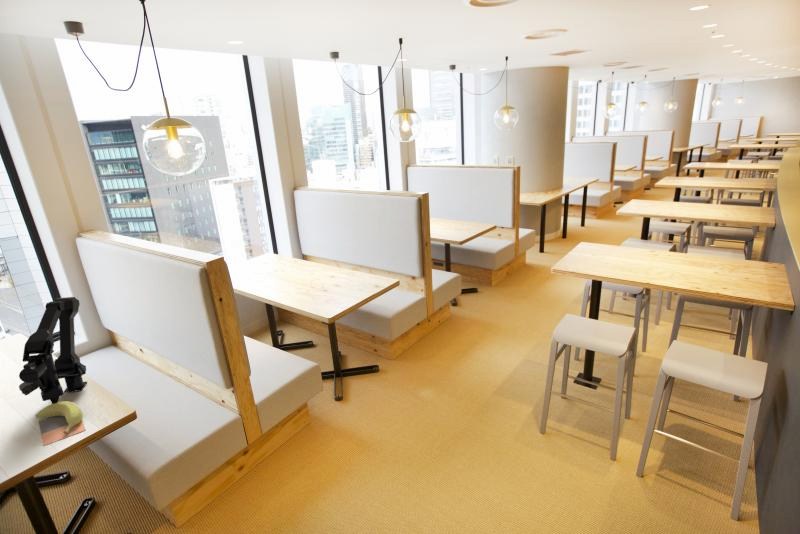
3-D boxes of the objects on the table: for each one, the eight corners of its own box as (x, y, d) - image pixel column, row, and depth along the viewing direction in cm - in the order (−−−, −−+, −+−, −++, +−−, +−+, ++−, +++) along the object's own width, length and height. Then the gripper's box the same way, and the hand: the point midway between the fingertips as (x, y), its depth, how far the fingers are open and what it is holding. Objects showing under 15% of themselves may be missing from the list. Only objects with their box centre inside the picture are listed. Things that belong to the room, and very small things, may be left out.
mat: (38, 421, 162) (38, 421, 162) (77, 408, 169) (77, 408, 169) (41, 434, 155) (41, 434, 155) (81, 420, 162) (81, 419, 162)
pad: (41, 434, 155) (41, 434, 155) (81, 420, 162) (81, 419, 162) (43, 445, 149) (43, 445, 149) (85, 430, 157) (85, 429, 157)
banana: (72, 389, 169) (80, 418, 155) (80, 398, 172) (88, 428, 158) (31, 410, 162) (35, 442, 148) (39, 419, 165) (44, 452, 151)
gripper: (16, 367, 164) (26, 402, 169) (19, 386, 151) (30, 424, 156) (53, 357, 172) (62, 391, 176) (58, 375, 158) (68, 412, 163)
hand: (55, 404), depth 168 cm, fingers closed
